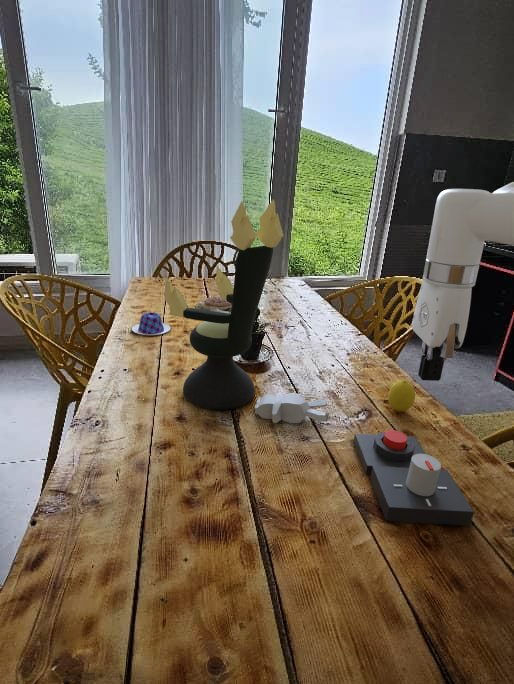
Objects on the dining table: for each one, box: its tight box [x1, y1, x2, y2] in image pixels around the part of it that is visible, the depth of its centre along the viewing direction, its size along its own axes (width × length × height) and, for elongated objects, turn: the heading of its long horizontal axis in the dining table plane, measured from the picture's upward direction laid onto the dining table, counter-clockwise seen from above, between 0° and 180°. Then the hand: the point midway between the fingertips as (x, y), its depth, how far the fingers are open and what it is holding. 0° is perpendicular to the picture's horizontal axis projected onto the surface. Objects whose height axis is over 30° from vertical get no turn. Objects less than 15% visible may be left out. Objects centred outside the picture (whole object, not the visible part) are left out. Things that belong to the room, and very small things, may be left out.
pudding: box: [131, 311, 171, 336], centre depth 140 cm, size 12×12×5 cm
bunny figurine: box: [254, 392, 328, 424], centre depth 95 cm, size 10×5×15 cm
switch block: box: [353, 431, 427, 476], centre depth 83 cm, size 12×10×4 cm
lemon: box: [387, 379, 416, 413], centre depth 99 cm, size 6×6×8 cm
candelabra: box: [164, 199, 285, 411], centre depth 95 cm, size 19×22×45 cm
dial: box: [406, 453, 442, 496], centre depth 71 cm, size 4×4×5 cm
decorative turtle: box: [194, 295, 232, 314], centre depth 162 cm, size 18×17×5 cm
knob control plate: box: [369, 466, 475, 527], centre depth 73 cm, size 13×10×3 cm
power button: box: [383, 429, 407, 450], centre depth 82 cm, size 4×4×2 cm
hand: (428, 378), depth 76 cm, fingers closed
